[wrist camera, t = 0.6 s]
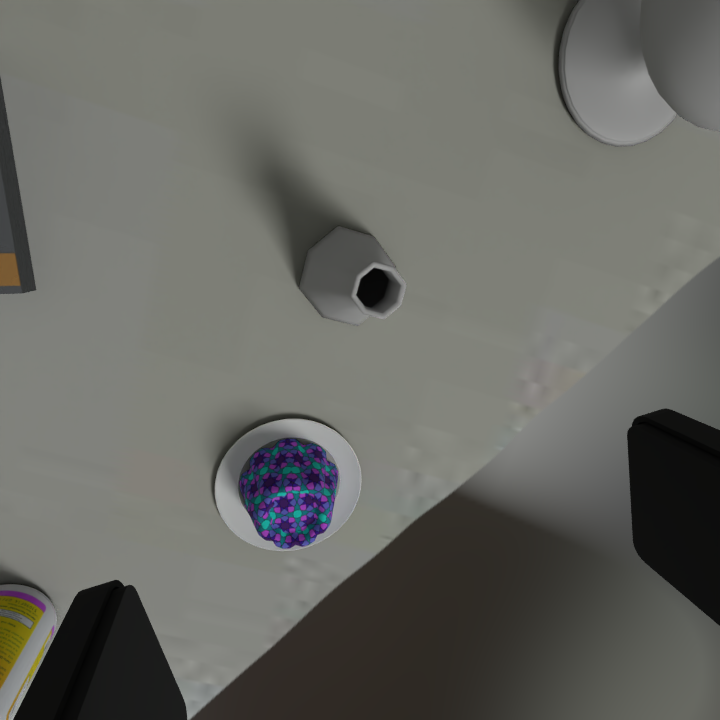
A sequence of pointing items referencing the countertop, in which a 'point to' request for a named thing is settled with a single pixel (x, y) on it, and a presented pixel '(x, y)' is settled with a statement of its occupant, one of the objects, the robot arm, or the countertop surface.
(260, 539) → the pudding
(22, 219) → the rail
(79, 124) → the countertop surface
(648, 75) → the chalice
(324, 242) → the flask
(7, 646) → the supplement bottle
